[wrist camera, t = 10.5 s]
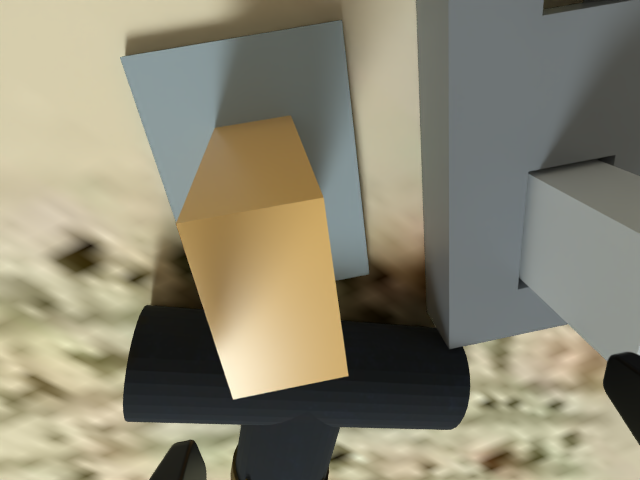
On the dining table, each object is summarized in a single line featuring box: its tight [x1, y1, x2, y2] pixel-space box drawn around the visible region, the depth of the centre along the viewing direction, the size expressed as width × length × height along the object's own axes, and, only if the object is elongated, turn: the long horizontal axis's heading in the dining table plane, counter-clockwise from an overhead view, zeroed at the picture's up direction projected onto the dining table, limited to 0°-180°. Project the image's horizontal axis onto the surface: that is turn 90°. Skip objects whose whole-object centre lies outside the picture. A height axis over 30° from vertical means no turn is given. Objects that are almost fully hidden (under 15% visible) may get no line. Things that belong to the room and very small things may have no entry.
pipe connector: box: [123, 305, 470, 480], centre depth 22 cm, size 12×5×15 cm
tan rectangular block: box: [176, 115, 348, 399], centre depth 14 cm, size 3×5×9 cm, turn 7°
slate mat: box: [120, 20, 369, 281], centre depth 18 cm, size 8×11×1 cm
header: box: [416, 0, 640, 349], centre depth 17 cm, size 10×22×3 cm, turn 8°
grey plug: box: [519, 159, 640, 361], centre depth 16 cm, size 3×5×9 cm, turn 8°
